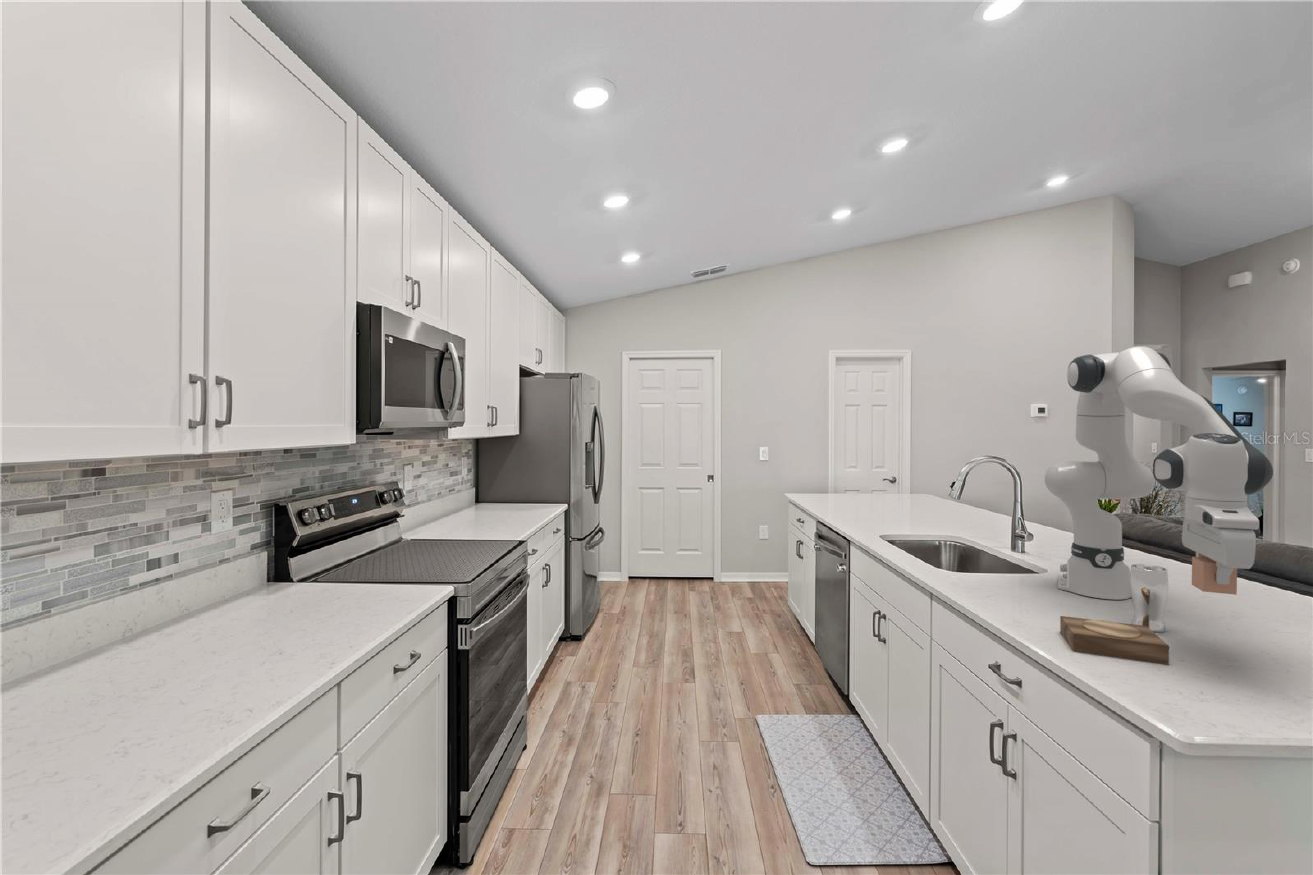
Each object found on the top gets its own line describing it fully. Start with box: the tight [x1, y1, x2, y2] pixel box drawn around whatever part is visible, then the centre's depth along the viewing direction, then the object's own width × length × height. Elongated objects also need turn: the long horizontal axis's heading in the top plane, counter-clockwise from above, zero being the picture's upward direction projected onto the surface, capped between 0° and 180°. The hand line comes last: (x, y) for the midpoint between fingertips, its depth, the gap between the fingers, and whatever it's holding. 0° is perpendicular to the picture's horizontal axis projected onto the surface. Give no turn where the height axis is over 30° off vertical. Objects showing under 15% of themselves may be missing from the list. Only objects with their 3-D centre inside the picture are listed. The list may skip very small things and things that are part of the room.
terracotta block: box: [1191, 556, 1238, 595], centre depth 110 cm, size 5×5×6 cm
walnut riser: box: [1059, 615, 1170, 665], centre depth 120 cm, size 12×16×4 cm
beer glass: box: [1130, 563, 1169, 633], centre depth 131 cm, size 7×7×15 cm
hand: (1213, 579), depth 110 cm, fingers closed on terracotta block, 5 cm apart
